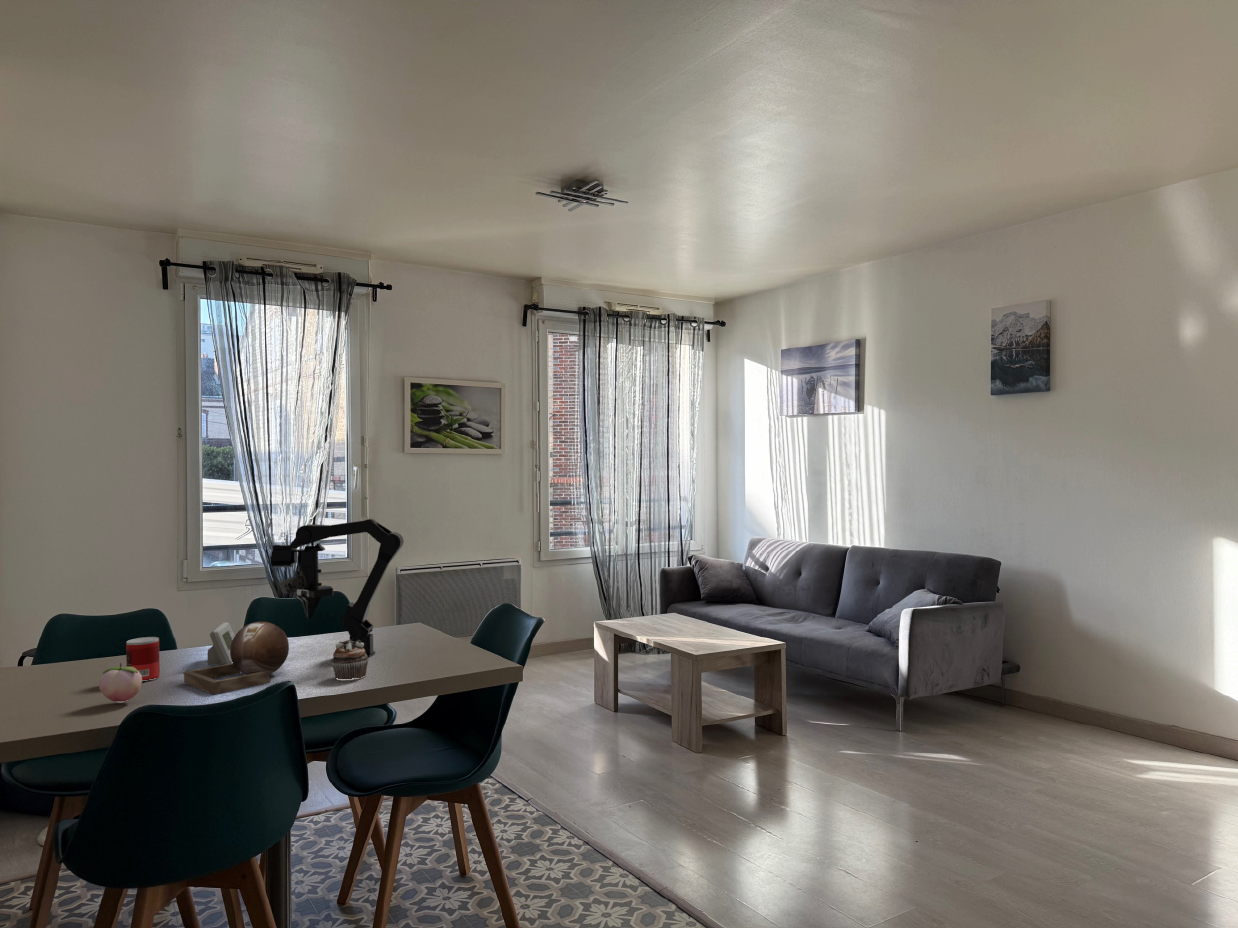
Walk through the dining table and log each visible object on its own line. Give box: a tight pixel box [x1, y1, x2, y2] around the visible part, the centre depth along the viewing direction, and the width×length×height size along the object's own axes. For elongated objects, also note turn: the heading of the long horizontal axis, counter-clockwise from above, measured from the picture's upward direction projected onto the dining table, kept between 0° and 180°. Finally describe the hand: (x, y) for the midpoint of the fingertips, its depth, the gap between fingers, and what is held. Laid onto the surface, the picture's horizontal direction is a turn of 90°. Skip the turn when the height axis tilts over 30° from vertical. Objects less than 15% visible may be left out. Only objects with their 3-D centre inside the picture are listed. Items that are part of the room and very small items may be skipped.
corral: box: [183, 662, 271, 695], centre depth 231 cm, size 14×19×3 cm
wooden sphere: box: [230, 620, 290, 676], centre depth 237 cm, size 15×15×15 cm
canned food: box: [125, 636, 161, 680], centre depth 237 cm, size 8×8×11 cm
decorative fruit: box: [98, 662, 143, 702], centre depth 212 cm, size 9×8×10 cm
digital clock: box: [207, 621, 235, 666], centre depth 258 cm, size 16×9×11 cm, turn 1°
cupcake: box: [331, 639, 370, 679], centre depth 234 cm, size 10×10×10 cm
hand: (309, 618), depth 259 cm, fingers closed
